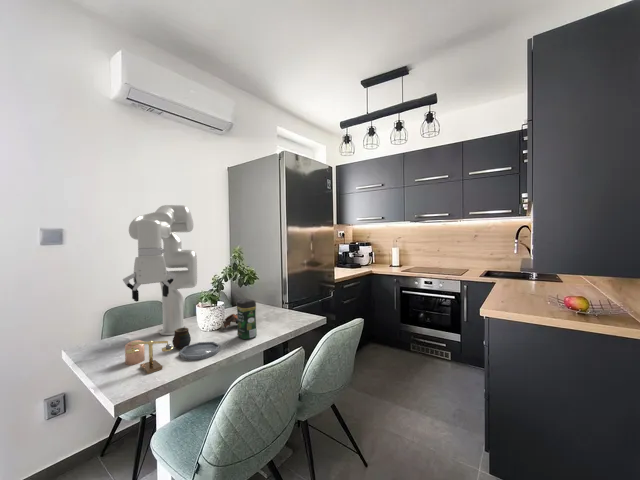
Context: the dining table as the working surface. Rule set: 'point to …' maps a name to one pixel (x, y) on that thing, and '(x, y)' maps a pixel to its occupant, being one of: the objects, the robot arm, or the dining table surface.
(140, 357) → the terracotta cup
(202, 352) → the dish
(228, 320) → the pottery mug
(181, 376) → the dining table surface
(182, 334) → the mate gourd
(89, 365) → the dining table surface
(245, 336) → the coffee jar
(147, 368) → the balance
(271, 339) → the dining table surface
